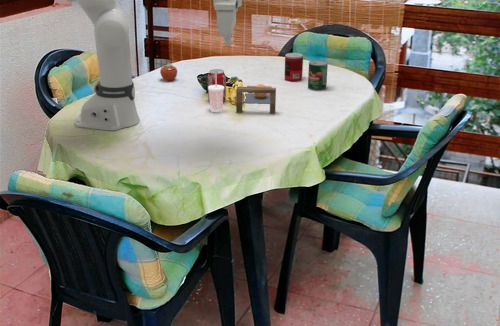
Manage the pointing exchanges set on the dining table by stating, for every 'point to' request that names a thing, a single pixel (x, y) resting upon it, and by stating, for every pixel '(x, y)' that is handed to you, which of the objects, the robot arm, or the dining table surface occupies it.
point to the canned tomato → (317, 75)
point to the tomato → (168, 72)
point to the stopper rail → (255, 86)
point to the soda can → (220, 80)
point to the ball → (260, 95)
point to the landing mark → (257, 99)
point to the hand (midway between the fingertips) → (227, 44)
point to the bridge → (255, 90)
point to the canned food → (293, 67)
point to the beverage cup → (216, 96)
